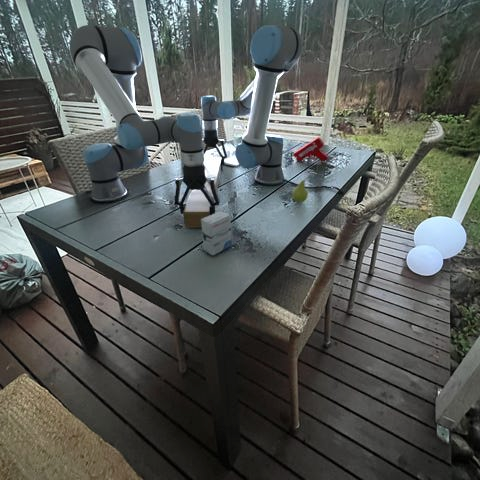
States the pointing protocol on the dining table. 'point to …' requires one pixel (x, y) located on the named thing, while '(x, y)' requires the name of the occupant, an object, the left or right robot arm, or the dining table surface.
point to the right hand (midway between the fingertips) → (213, 170)
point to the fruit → (300, 192)
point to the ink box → (216, 232)
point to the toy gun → (312, 151)
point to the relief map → (230, 155)
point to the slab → (202, 195)
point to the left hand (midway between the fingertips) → (198, 220)
